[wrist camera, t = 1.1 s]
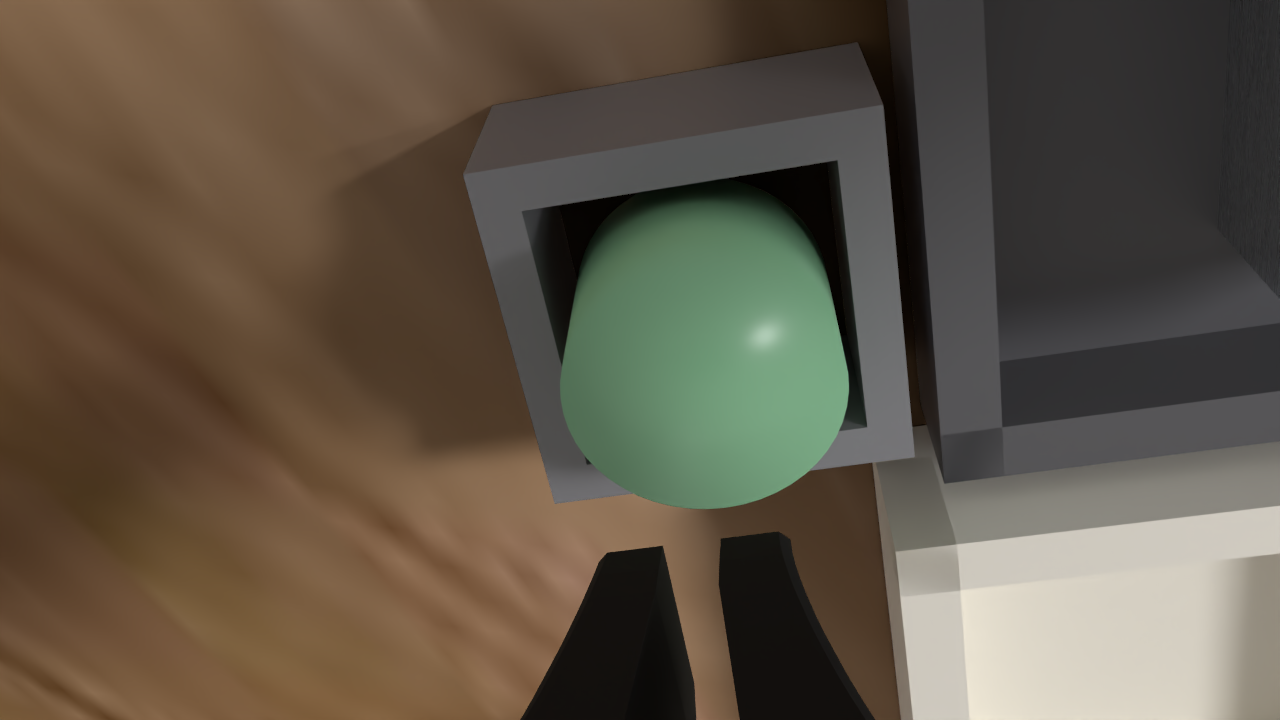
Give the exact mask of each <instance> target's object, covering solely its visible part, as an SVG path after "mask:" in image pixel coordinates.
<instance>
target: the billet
mask: <svg viewBox="0 0 1280 720" xmlns="http://www.w3.org/2000/svg"><path fill="white" fill-rule="evenodd" d="M1217 229H1218V231H1219V232H1220V233H1221V234H1222V235H1223V236H1224V237H1225V238H1226V240H1227V241H1228V242H1229V243H1230V244H1231V245H1232V246H1233V247H1234V249H1235V250H1236V251H1237V252H1238V253H1239V254H1240V255H1241V256H1242V257H1243V259H1244V260H1245V261H1246V262H1247V263H1248V264H1249V265H1250V266H1251V268H1252V269H1253V270H1254V271H1255V272H1256V273H1257V274H1258V275H1259V277H1260V278H1261V279H1262V280H1263V281H1264V282H1265V283H1266V284H1267V286H1268V287H1269V288H1270V289H1271V290H1272V291H1273V292H1274V293H1275V295H1276V296H1277V297H1278V298H1279V299H1280V0H1230V12H1229V30H1228V47H1227V65H1226V82H1225V99H1224V117H1223V134H1222V152H1221V169H1220V186H1219V204H1218V221H1217Z"/></svg>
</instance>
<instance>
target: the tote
mask: <svg viewBox="0 0 1280 720" xmlns="http://www.w3.org/2000/svg"><path fill="white" fill-rule="evenodd" d="M886 4H887V15H888V27H889V39H890V51H891V63H892V75H893V87H894V98H895V110H896V122H897V134H898V146H899V158H900V169H901V181H902V193H903V205H904V217H905V229H906V240H907V252H908V264H909V276H910V288H911V300H912V311H913V323H914V335H915V347H916V359H917V371H918V382H919V394H920V404H921V408H922V411H923V414H924V418H925V421H926V424H927V428H928V431H929V434H930V438H931V441H932V444H933V448H934V451H935V454H936V458H937V461H938V464H939V468H940V471H941V474H942V478H943V481H944V484H946V483H954V482H962V481H970V480H978V479H986V478H994V477H1002V476H1010V475H1017V474H1025V473H1033V472H1041V471H1049V470H1057V469H1065V468H1073V467H1081V466H1089V465H1097V464H1104V463H1112V462H1120V461H1128V460H1136V459H1144V458H1152V457H1160V456H1168V455H1176V454H1183V453H1191V452H1199V451H1207V450H1215V449H1223V448H1231V447H1239V446H1247V445H1255V444H1263V443H1270V442H1278V441H1280V299H1279V298H1278V297H1277V296H1276V295H1275V293H1274V292H1273V291H1272V290H1271V289H1270V288H1269V287H1268V286H1267V284H1266V283H1265V282H1264V281H1263V280H1262V279H1261V278H1260V277H1259V275H1258V274H1257V273H1256V272H1255V271H1254V270H1253V269H1252V268H1251V266H1250V265H1249V264H1248V263H1247V262H1246V261H1245V260H1244V259H1243V257H1242V256H1241V255H1240V254H1239V253H1238V252H1237V251H1236V250H1235V249H1234V247H1233V246H1232V245H1231V244H1230V243H1229V242H1228V241H1227V240H1226V238H1225V237H1224V236H1223V235H1222V234H1221V233H1220V232H1219V231H1218V229H1217V221H1218V204H1219V186H1220V169H1221V152H1222V134H1223V117H1224V99H1225V82H1226V65H1227V47H1228V30H1229V12H1230V0H886Z"/></svg>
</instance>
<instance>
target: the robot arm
mask: <svg viewBox="0 0 1280 720" xmlns="http://www.w3.org/2000/svg"><path fill="white" fill-rule="evenodd" d="M719 588H720V595H721V601H722V608H723V614H724V621H725V627H726V634H727V640H728V646H729V653H730V659H731V666H732V672H733V679H734V685H735V691H736V698H737V704H738V711H739V717H740V720H875V719H874V717H873V716H872V714H871V713H870V711H869V710H868V708H867V707H866V705H865V703H864V702H863V700H862V699H861V697H860V695H859V694H858V692H857V690H856V689H855V687H854V685H853V684H852V682H851V681H850V679H849V677H848V675H847V674H846V672H845V670H844V668H843V666H842V665H841V663H840V661H839V659H838V657H837V655H836V654H835V652H834V650H833V648H832V646H831V645H830V643H829V641H828V639H827V637H826V635H825V633H824V631H823V629H822V627H821V625H820V623H819V621H818V619H817V617H816V615H815V613H814V611H813V608H812V606H811V604H810V602H809V599H808V597H807V595H806V592H805V590H804V587H803V585H802V582H801V580H800V577H799V574H798V571H797V568H796V565H795V561H794V557H793V553H792V547H791V541H790V539H789V538H787V537H786V536H784V535H783V534H781V533H780V532H771V533H763V534H755V535H747V536H739V537H731V538H723V539H721V547H720V564H719ZM520 720H696V707H695V689H694V681H693V676H692V672H691V667H690V663H689V659H688V654H687V650H686V646H685V641H684V637H683V632H682V628H681V624H680V619H679V615H678V610H677V606H676V602H675V597H674V593H673V589H672V584H671V580H670V575H669V571H668V567H667V562H666V558H665V554H664V549H663V546H658V547H650V548H642V549H634V550H626V551H618V552H610V553H607V554H606V555H605V556H604V557H603V558H602V559H601V561H600V562H599V563H598V566H597V568H596V571H595V573H594V576H593V578H592V581H591V583H590V585H589V587H588V590H587V592H586V594H585V597H584V599H583V601H582V603H581V605H580V608H579V610H578V612H577V614H576V616H575V618H574V620H573V622H572V624H571V627H570V629H569V631H568V633H567V635H566V637H565V639H564V641H563V643H562V645H561V647H560V649H559V651H558V653H557V654H556V656H555V658H554V660H553V662H552V664H551V666H550V668H549V669H548V671H547V673H546V675H545V677H544V679H543V681H542V682H541V684H540V686H539V688H538V690H537V692H536V694H535V695H534V697H533V699H532V701H531V703H530V704H529V706H528V708H527V710H526V711H525V713H524V715H523V716H522V718H521V719H520Z"/></svg>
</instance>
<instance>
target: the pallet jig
mask: <svg viewBox="0 0 1280 720" xmlns="http://www.w3.org/2000/svg"><path fill="white" fill-rule="evenodd" d="M912 431H913V442H914V453H915V457H911V458H904V459H896V460H888V461H880V462H873V463H872V464H873V473H874V482H875V491H876V500H877V509H878V518H879V527H880V536H881V545H882V554H883V563H884V572H885V581H886V590H887V599H888V608H889V617H890V626H891V635H892V644H893V653H894V662H895V671H896V680H897V689H898V698H899V707H900V716H901V720H1280V441H1278V442H1270V443H1263V444H1255V445H1247V446H1239V447H1231V448H1223V449H1215V450H1207V451H1199V452H1191V453H1183V454H1176V455H1168V456H1160V457H1152V458H1144V459H1136V460H1128V461H1120V462H1112V463H1104V464H1097V465H1089V466H1081V467H1073V468H1065V469H1057V470H1049V471H1041V472H1033V473H1025V474H1017V475H1010V476H1002V477H994V478H986V479H978V480H970V481H962V482H954V483H946V484H944V481H943V478H942V474H941V471H940V468H939V464H938V461H937V458H936V454H935V451H934V448H933V444H932V441H931V438H930V434H929V431H928V428H927V425H923V426H915V427H912Z"/></svg>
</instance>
